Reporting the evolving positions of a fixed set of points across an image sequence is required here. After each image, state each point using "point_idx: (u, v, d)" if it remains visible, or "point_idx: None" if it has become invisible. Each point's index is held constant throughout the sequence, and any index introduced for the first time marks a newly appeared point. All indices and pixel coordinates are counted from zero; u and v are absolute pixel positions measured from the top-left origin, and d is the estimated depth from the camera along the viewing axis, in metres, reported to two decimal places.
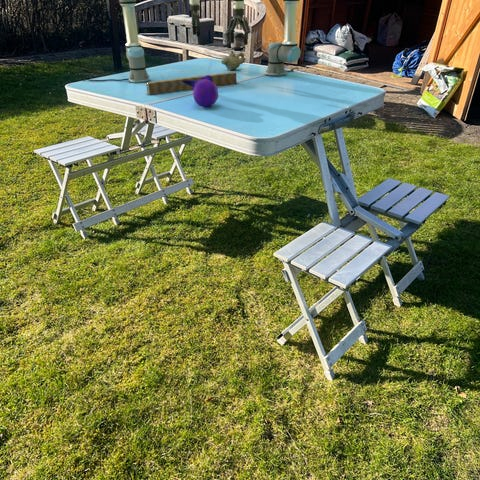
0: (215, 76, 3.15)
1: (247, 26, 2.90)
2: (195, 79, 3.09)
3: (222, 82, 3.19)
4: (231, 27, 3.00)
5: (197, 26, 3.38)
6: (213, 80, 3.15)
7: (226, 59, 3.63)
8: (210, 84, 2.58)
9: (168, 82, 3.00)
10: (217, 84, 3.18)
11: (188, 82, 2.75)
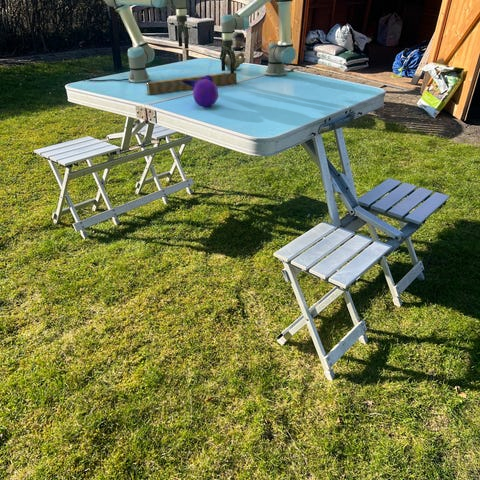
0: (215, 76, 3.15)
1: None
2: (195, 79, 3.09)
3: (222, 82, 3.19)
4: None
5: (185, 38, 3.21)
6: (213, 80, 3.15)
7: (226, 59, 3.63)
8: (210, 84, 2.58)
9: (168, 82, 3.00)
10: (217, 84, 3.18)
11: (188, 82, 2.75)
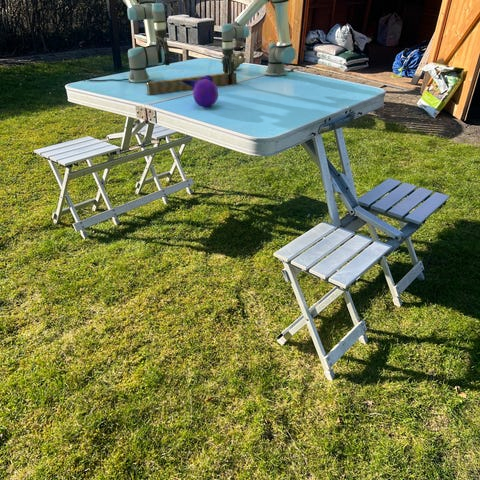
0: (215, 76, 3.15)
1: None
2: (195, 79, 3.09)
3: (222, 82, 3.19)
4: None
5: (166, 54, 2.95)
6: (213, 80, 3.15)
7: None
8: (210, 84, 2.58)
9: (168, 82, 3.00)
10: (217, 84, 3.18)
11: (188, 82, 2.75)
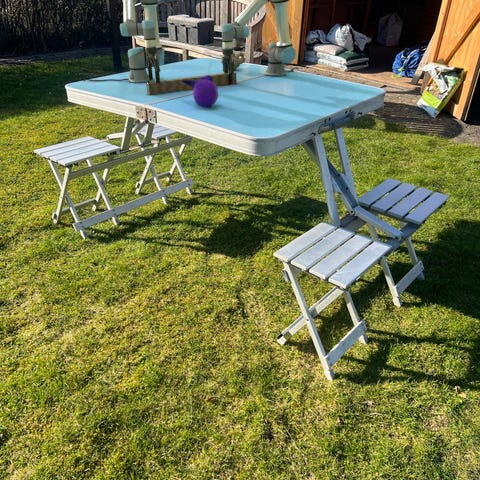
0: (215, 76, 3.15)
1: None
2: (195, 79, 3.09)
3: (222, 82, 3.19)
4: None
5: (156, 72, 2.87)
6: (213, 80, 3.15)
7: None
8: (210, 84, 2.58)
9: (168, 82, 3.00)
10: (217, 84, 3.18)
11: (188, 82, 2.75)
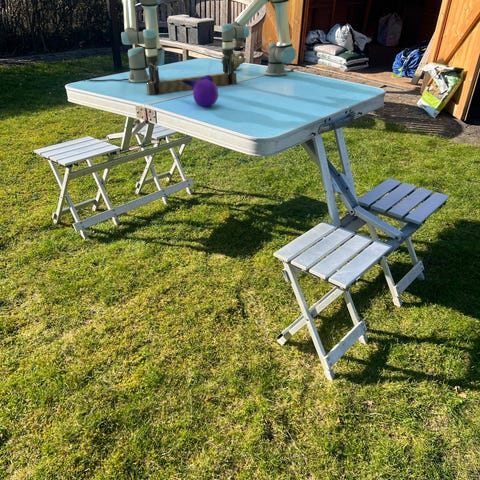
0: (215, 76, 3.15)
1: None
2: (195, 79, 3.09)
3: (222, 82, 3.19)
4: None
5: (156, 83, 2.94)
6: (213, 80, 3.15)
7: None
8: (210, 84, 2.58)
9: (168, 82, 3.00)
10: (217, 84, 3.18)
11: (188, 82, 2.75)
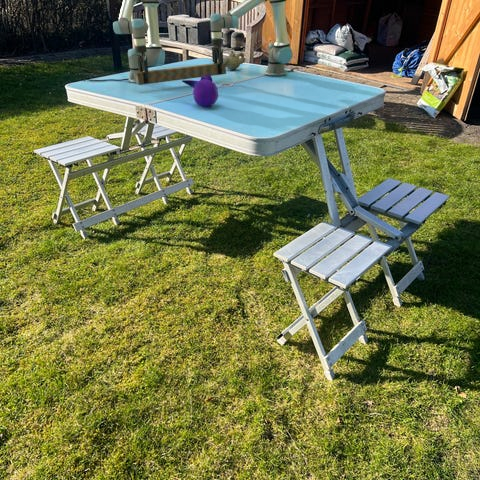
0: (204, 66, 3.16)
1: None
2: (184, 69, 3.10)
3: (211, 72, 3.21)
4: None
5: (144, 72, 2.96)
6: (202, 70, 3.17)
7: (226, 59, 3.63)
8: (210, 84, 2.58)
9: (157, 72, 3.02)
10: (206, 74, 3.20)
11: (188, 82, 2.75)
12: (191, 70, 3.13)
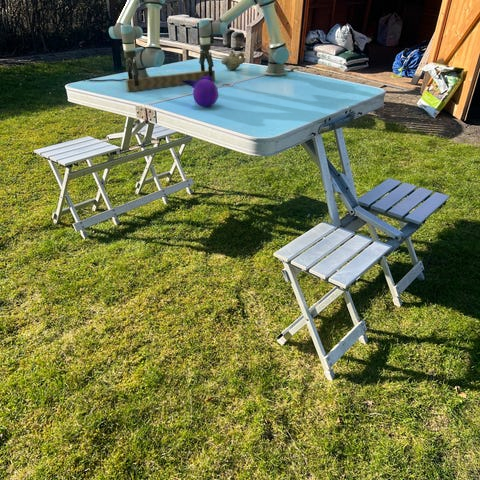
0: (193, 74, 3.24)
1: None
2: (173, 76, 3.18)
3: (200, 79, 3.28)
4: None
5: (135, 75, 2.98)
6: (191, 78, 3.24)
7: (226, 59, 3.63)
8: (210, 84, 2.58)
9: (147, 79, 3.09)
10: None
11: (188, 82, 2.75)
12: (181, 78, 3.21)
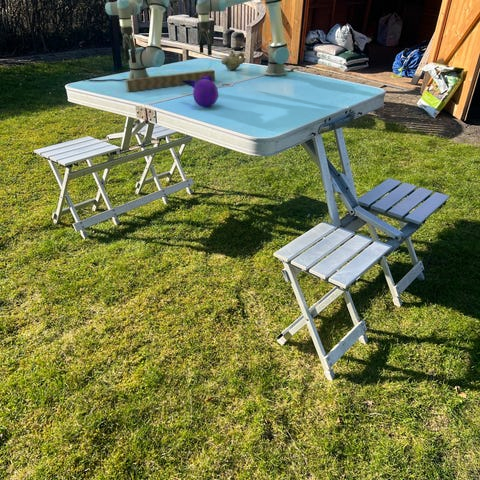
0: (193, 74, 3.24)
1: None
2: (173, 76, 3.18)
3: (200, 79, 3.28)
4: None
5: None
6: (191, 78, 3.24)
7: (226, 59, 3.63)
8: (210, 84, 2.58)
9: (147, 79, 3.09)
10: None
11: (188, 82, 2.75)
12: (181, 78, 3.21)
